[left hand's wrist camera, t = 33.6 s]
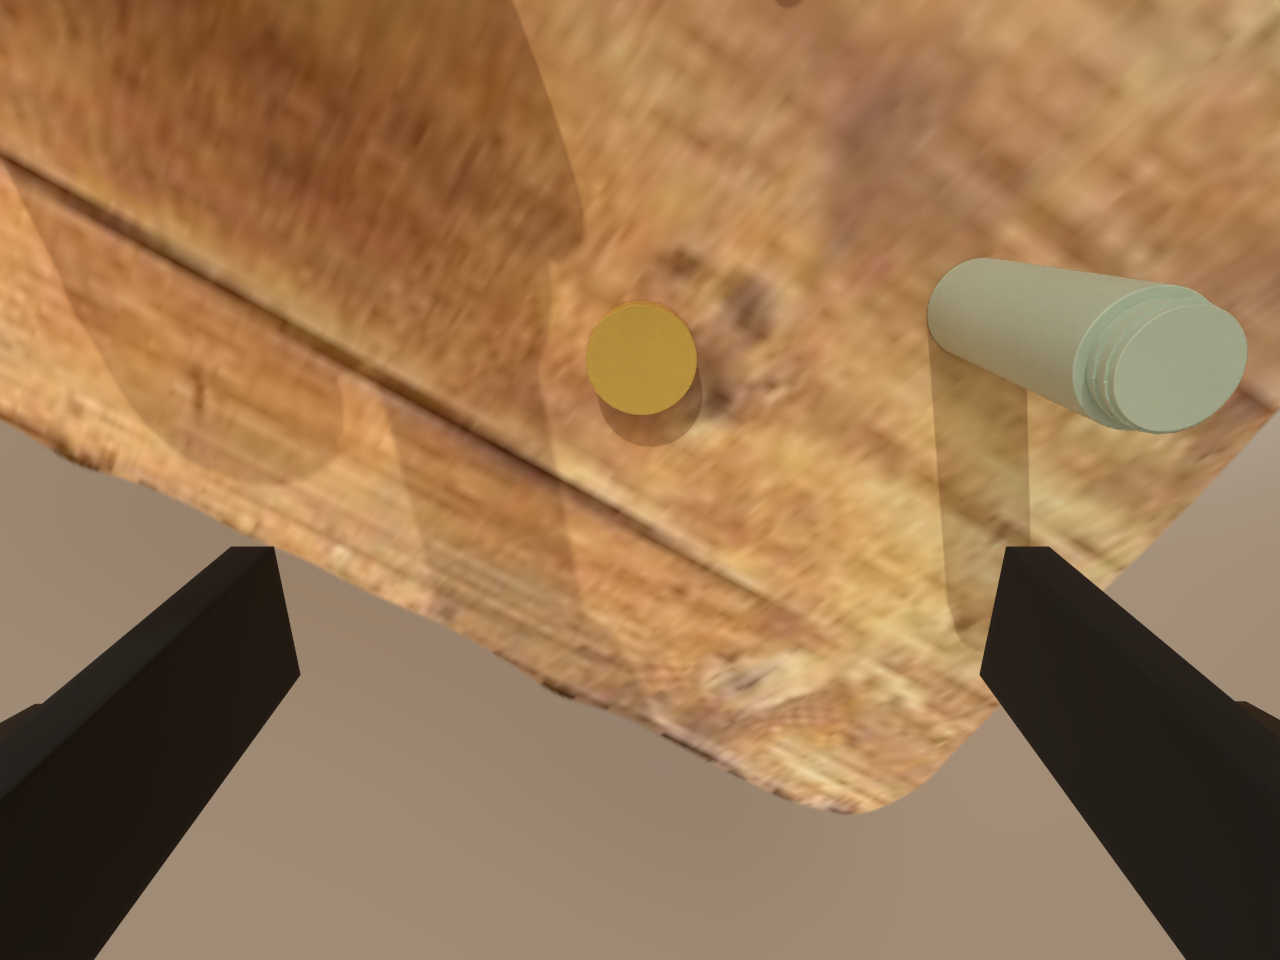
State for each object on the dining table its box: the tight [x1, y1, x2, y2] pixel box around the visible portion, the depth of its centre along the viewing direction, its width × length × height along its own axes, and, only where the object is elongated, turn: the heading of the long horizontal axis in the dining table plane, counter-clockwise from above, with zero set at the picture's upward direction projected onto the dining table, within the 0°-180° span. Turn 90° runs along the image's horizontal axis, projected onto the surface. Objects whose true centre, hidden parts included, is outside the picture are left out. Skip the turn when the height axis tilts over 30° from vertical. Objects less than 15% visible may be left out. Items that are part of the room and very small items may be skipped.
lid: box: [586, 300, 697, 415], centre depth 36 cm, size 6×6×2 cm
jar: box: [927, 258, 1248, 434], centre depth 29 cm, size 5×5×15 cm
